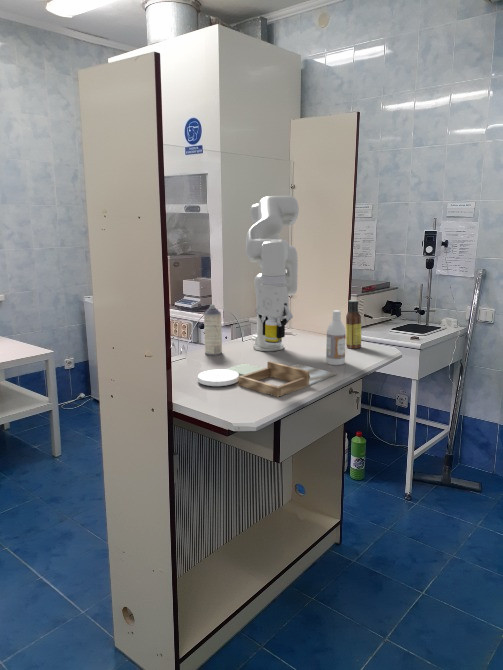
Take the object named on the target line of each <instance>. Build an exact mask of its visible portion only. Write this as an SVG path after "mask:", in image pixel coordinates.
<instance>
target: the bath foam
mask: <svg viewBox="0 0 503 670" xmlns="http://www.w3.org/2000/svg"><path fill="white" fill-rule="evenodd" d="M341 316H342V311H341V310H338V309H335V310H332V320H331V322H330V324H329V325H328V327H327V330H326V349H325V350H326V351H325V353H326V354H325V362H326V364H328V365H330V366H342V365H344V364H345V361H346V327H345V325H344V324H343V322H342V321H341V319H342V317H341Z"/></svg>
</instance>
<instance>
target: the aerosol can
mask: <svg viewBox="0 0 503 670" xmlns="http://www.w3.org/2000/svg"><path fill="white" fill-rule="evenodd" d="M215 306H216V305H215V304H209V308H208V309H207V310H206V311H204V314H203V319H204V320H203V323H204V327H203V329H204V354H205V355H206V356H213V357H214V356H221V355H222V354H223V338H222V337H223V336H222V335H223V333H222V332H223V331H222V313H221V311H219V309H217V307H215Z"/></svg>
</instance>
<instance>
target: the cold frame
mask: <svg viewBox="0 0 503 670" xmlns="http://www.w3.org/2000/svg"><path fill="white" fill-rule="evenodd" d="M266 366H267V367H263V368H264V369H261V370H258V371H255V372H252V373H249V374H245V375H242V376H239V380H238V386H241V387H243V388H246V389H250V390H253V391H256V392H260V393H262V392H263V394H266V393H268V394H267V395H269V394H272V395H275V396H274V397H276V396H277V397H276V398H280V397H279V396H281V397H282V395H283V396H285V395H284V394H286V395H288V394H290V392H291V393H293V392H295V391H298V390H301V389H304V388H307V387H308V386H310V385H311V386H312V385H313V384H317V383H319V382H321V381H324V380H326V379H329V378H332V377H334V375H335V376H337V373H336V372H332V371H328V370H324V369H321V368H315V367H312V366H308V365H304V364H300V363H297V364H292V365H286V364H282V363H280V362H279V363H278V362H274V361H270V360H269V361H267V365H266ZM331 376H332V377H331ZM269 377H271V378H274V379H278V380H282V381H286V382H287V383H284V384H280V385H274V384H272V383H268V382H263V381H261V380H263V379H266V378H267V379H268V378H269ZM287 393H288V394H287ZM272 395H271V396H272Z"/></svg>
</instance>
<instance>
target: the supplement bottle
mask: <svg viewBox="0 0 503 670" xmlns="http://www.w3.org/2000/svg"><path fill="white" fill-rule="evenodd" d="M267 317H268V316H267ZM277 326H278V322H277V318H274V317H268V320H266V322H265V343H266V344H269V345H278V344H281V343H282V342H283V341H282V339H283V338H279V339H278V338H277ZM282 344H283V343H282Z"/></svg>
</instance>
